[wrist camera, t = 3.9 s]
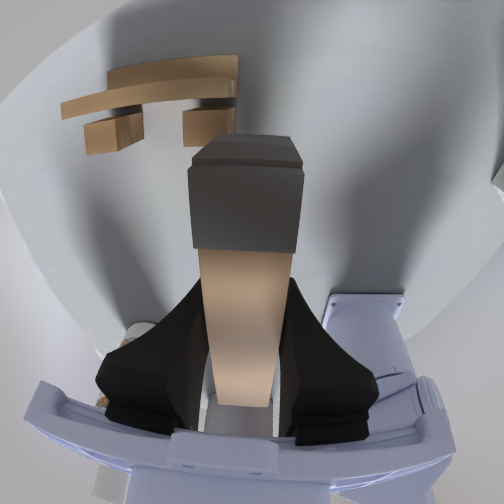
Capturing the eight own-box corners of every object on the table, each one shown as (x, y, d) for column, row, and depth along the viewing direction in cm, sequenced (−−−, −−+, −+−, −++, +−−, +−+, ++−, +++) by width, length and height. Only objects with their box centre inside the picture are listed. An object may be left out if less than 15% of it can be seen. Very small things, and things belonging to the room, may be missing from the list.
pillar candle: (253, 418, 40) (249, 497, 28) (199, 403, 38) (186, 488, 25) (285, 397, 36) (287, 492, 23) (224, 380, 33) (212, 485, 21)
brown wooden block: (268, 350, 18) (267, 414, 14) (226, 348, 18) (217, 410, 14) (289, 136, 11) (305, 166, 7) (218, 134, 11) (187, 162, 7)
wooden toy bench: (236, 135, 17) (223, 154, 12) (114, 141, 17) (67, 164, 12) (238, 56, 14) (225, 38, 9) (111, 71, 14) (59, 72, 9)
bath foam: (146, 310, 27) (81, 493, 10) (195, 345, 29) (160, 518, 12) (118, 333, 29) (63, 480, 13) (163, 363, 32) (126, 505, 15)
